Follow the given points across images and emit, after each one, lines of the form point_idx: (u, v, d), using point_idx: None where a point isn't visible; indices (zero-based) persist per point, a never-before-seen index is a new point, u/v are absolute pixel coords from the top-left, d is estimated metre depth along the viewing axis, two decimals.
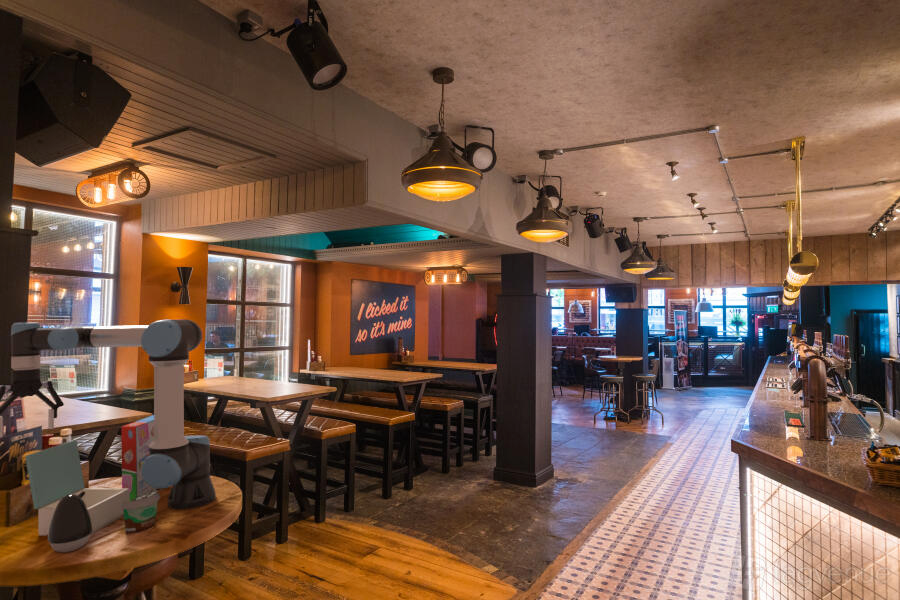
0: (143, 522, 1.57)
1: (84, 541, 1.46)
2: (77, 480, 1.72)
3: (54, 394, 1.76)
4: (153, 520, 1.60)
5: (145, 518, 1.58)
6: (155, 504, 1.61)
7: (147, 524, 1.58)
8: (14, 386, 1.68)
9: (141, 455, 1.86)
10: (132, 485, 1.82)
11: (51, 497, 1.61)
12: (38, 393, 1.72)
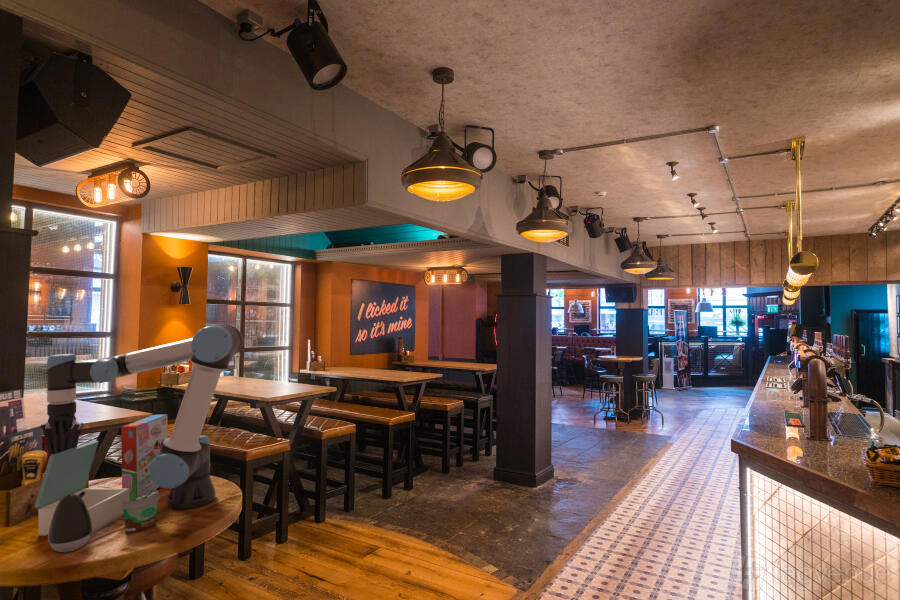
0: (143, 522, 1.57)
1: (84, 541, 1.46)
2: (82, 480, 1.72)
3: (70, 439, 1.64)
4: (153, 520, 1.60)
5: (145, 518, 1.58)
6: (155, 504, 1.61)
7: (147, 524, 1.58)
8: (49, 419, 1.65)
9: (141, 455, 1.86)
10: (132, 485, 1.82)
11: (53, 497, 1.61)
12: (60, 431, 1.64)
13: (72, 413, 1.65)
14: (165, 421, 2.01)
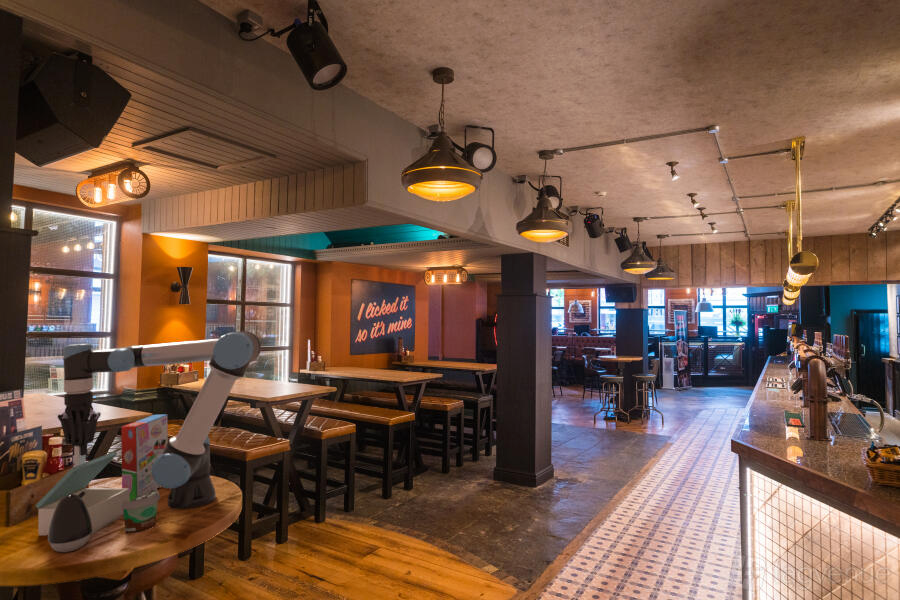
0: (143, 522, 1.57)
1: (84, 541, 1.46)
2: (86, 483, 1.72)
3: (88, 428, 1.64)
4: (153, 520, 1.60)
5: (145, 518, 1.58)
6: (155, 504, 1.61)
7: (147, 524, 1.58)
8: (66, 409, 1.64)
9: (141, 455, 1.86)
10: (132, 485, 1.82)
11: (55, 498, 1.61)
12: (78, 421, 1.63)
13: (89, 403, 1.65)
14: (165, 421, 2.01)
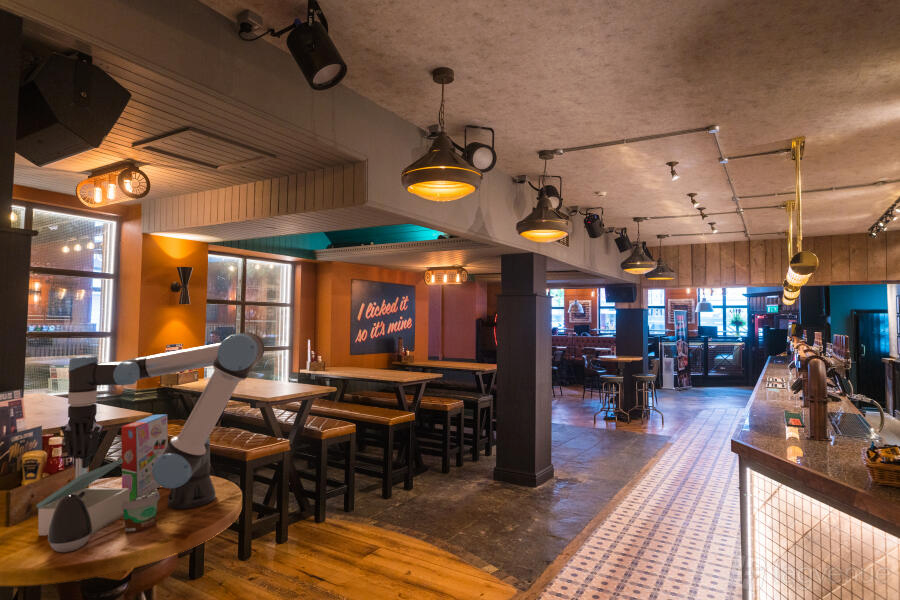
0: (143, 522, 1.57)
1: (84, 541, 1.46)
2: (87, 484, 1.72)
3: (91, 441, 1.63)
4: (153, 520, 1.60)
5: (145, 518, 1.58)
6: (155, 504, 1.61)
7: (147, 524, 1.58)
8: (69, 421, 1.64)
9: (141, 455, 1.86)
10: (132, 485, 1.82)
11: (55, 499, 1.61)
12: (81, 433, 1.63)
13: (93, 415, 1.65)
14: (165, 421, 2.01)
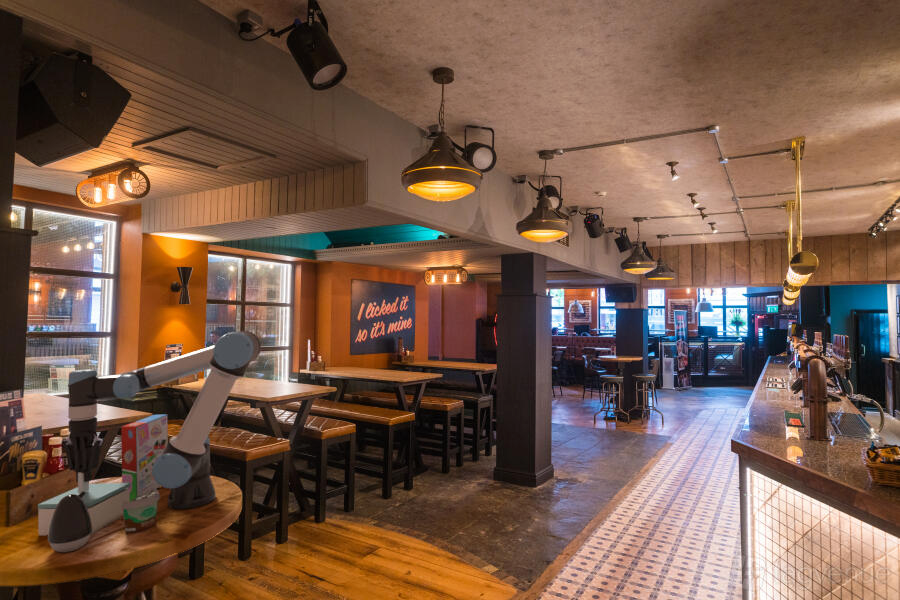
0: (143, 522, 1.57)
1: (84, 541, 1.46)
2: None
3: (92, 455, 1.63)
4: (153, 520, 1.60)
5: (145, 518, 1.58)
6: (155, 504, 1.61)
7: (147, 524, 1.58)
8: (70, 435, 1.64)
9: (141, 455, 1.86)
10: (132, 485, 1.82)
11: None
12: (82, 447, 1.63)
13: (93, 429, 1.65)
14: (165, 421, 2.01)
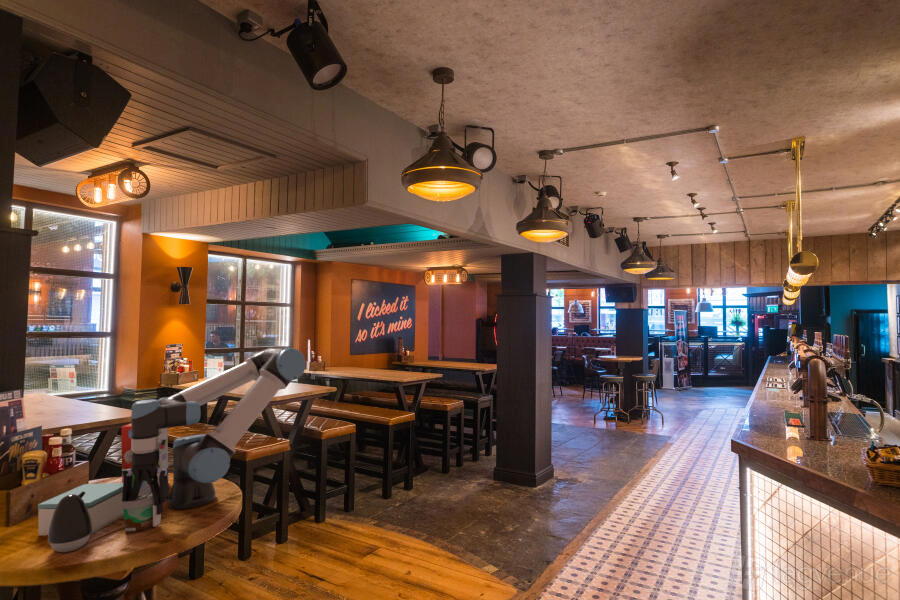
0: (143, 522, 1.57)
1: (84, 541, 1.46)
2: None
3: (161, 487, 1.59)
4: None
5: (145, 518, 1.58)
6: None
7: (147, 524, 1.58)
8: (133, 468, 1.59)
9: None
10: (132, 485, 1.82)
11: None
12: (148, 481, 1.58)
13: (156, 462, 1.60)
14: None
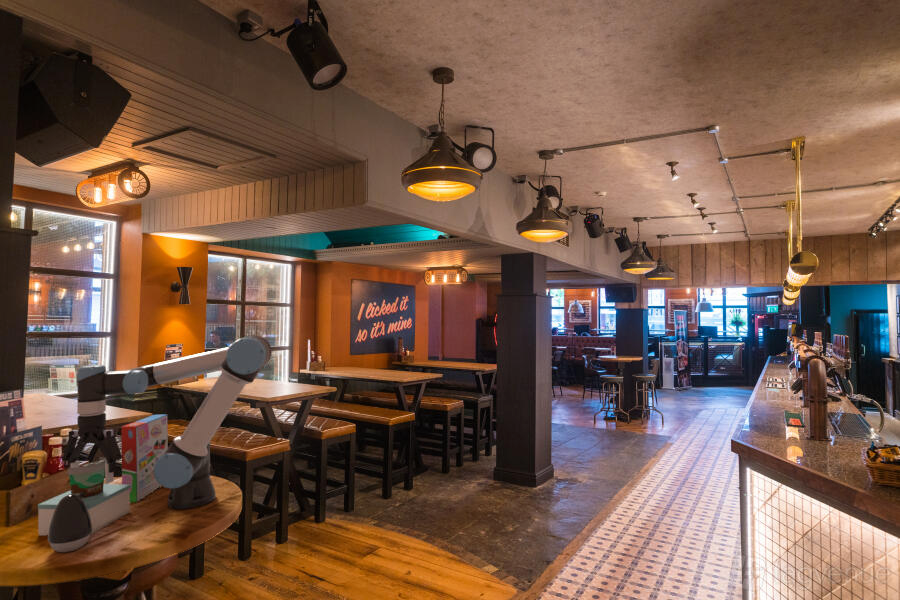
0: (89, 487, 1.62)
1: (84, 541, 1.46)
2: None
3: (110, 446, 1.63)
4: (100, 486, 1.65)
5: (91, 484, 1.62)
6: (102, 471, 1.65)
7: (93, 490, 1.63)
8: (79, 431, 1.64)
9: (141, 455, 1.86)
10: (132, 485, 1.82)
11: None
12: (95, 442, 1.63)
13: (102, 425, 1.64)
14: (165, 421, 2.01)
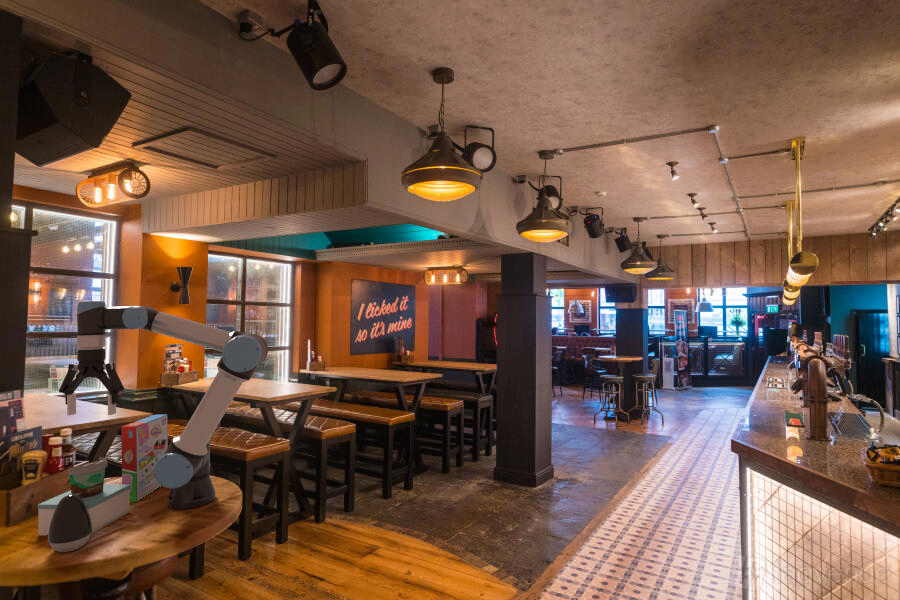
0: (89, 487, 1.62)
1: (84, 541, 1.46)
2: None
3: (111, 378, 1.64)
4: (100, 486, 1.65)
5: (91, 484, 1.62)
6: (102, 471, 1.65)
7: (93, 490, 1.63)
8: (79, 365, 1.64)
9: (141, 455, 1.86)
10: (132, 485, 1.82)
11: None
12: (96, 375, 1.63)
13: (102, 359, 1.65)
14: (165, 421, 2.01)
